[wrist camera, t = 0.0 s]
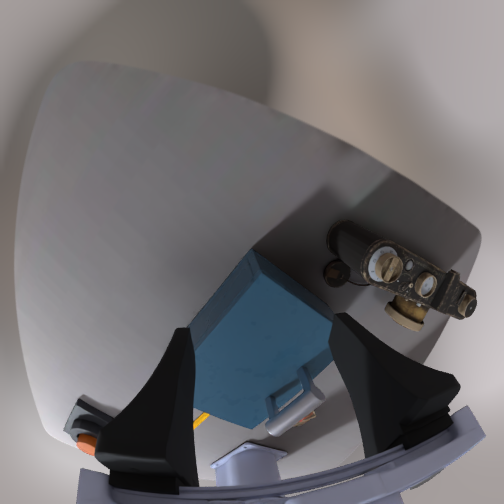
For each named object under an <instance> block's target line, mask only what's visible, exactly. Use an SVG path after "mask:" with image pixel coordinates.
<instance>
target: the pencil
mask: <svg viewBox="0 0 504 504" xmlns="http://www.w3.org/2000/svg"><path fill="white" fill-rule="evenodd" d="M209 415H210V414H208V413H205V412H204V413H203V414H202V415H201V416H200V417H199V418H197V419H196V420H195V421H194V422H193V429H195V428H196V427H197V426H198V425H199V424H200V423H202V422H203V421H204V420H205V419H206V418H207V417H208V416H209Z"/></svg>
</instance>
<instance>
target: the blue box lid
mask: <svg viewBox="0 0 504 504" xmlns="http://www.w3.org/2000/svg"><path fill="white" fill-rule="evenodd" d="M332 324H333V320H331V319H330V318H328V317H327V316H326V315H324V314H323V313H321V312H320V311H318V310H317V309H316V308H314V307H313V306H311V305H310V304H309V303H307V302H306V301H304V300H303V299H302V298H300V297H299V296H297V295H296V294H295V293H293V292H292V291H290V290H289V289H288V288H286V287H285V286H283V285H282V284H281V283H279V282H278V281H276V280H275V279H274V278H272V277H271V276H269V275H268V274H267V273H265V272H264V271H262V270H259V271H258V273H257V274H256V275H255V276H254V277H253V279H252V280H251V281H250V282H249V283H248V285H247V286H246V287H245V288H244V289H243V290H242V292H241V293H240V294H239V295H238V296H237V298H236V299H235V300H234V301H233V302H232V304H231V305H230V306H229V307H228V308H227V309H226V311H225V312H224V313H223V314H222V315H221V316H220V318H219V319H218V320H217V321H216V322H215V323H214V325H213V326H212V327H211V328H210V329H209V330H208V332H207V333H206V334H205V335H204V336H203V337H202V339H201V340H200V341H199V342H198V343H197V344H196V346H195V347H194V352H195V361H196V379H195V392H194V405H193V408H196V409H198V410H200V411H203V412H205V413H208V414H210V415H213V416H215V417H218V418H220V419H223V420H226V421H228V422H231V423H234V424H237V425H240V426H243V427H246V428H249V429H253V428H254V427H256V426H257V425H258V424H260V423H261V422H262V421H264V420H265V419H266V418H268V417H269V421H267V422H266V424H265V427H266V429H267V431H268V432H269V433H270V434H271V435H273V436H276V437H278V436H280V435H281V434H283V433H284V432H286V431H287V430H288V429H290V428H291V427H292V426H294V425H295V424H296V423H298V422H299V421H300V420H302V419H303V418H304V417H305V416H307V415H308V414H309V413H310V412H312V411H313V410H314V409H315V408H317V407H318V406H319V405H320V404H322V403H323V402H324V401H325V396H324V394H323V393H322V392H321V390H320V389H318V388H317V387H315V385H314V383H313V379H314V378H315V377H316V376H317V375H318V374H319V373H320V372H321V371H322V370H324V369H325V368H326V367H327V366H328V365H329V364H330V363H331V362H332V361H333V360H334V359H333V356H332V353H331V350H330V347H329V343H328V340H329V336H330V332H331V328H332ZM302 389H303V390H304V392H303V393H302V394H301V395H299V396H298V397H297V398H296V399H295V400H294V401H292V402H291V403H290V404H289V405H287V406H286V407H285V408H284V409H283V410H281V411H280V412H279V410H278V409H279V408H280V407H281V406H283V405H284V404H285V403H286V402H288V401H289V400H290V399H291V398H292V397H293V396H295V395H296V394H297V393H298V392H299V391H300V390H302Z"/></svg>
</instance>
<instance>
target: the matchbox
mask: <svg viewBox="0 0 504 504" xmlns="http://www.w3.org/2000/svg"><path fill="white" fill-rule="evenodd" d="M314 417H316V415H315V412H314V411H312V412H310V413H309V414H308V415H307V416H305V417H304V418H303V419H302V420H300V421H299V422H298V423H296V424H295V425H294V426H296V427H297V426H299V425H300V426H301V425H302V424H304V423H306V422H307V421H309V419H311V418H314Z"/></svg>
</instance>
